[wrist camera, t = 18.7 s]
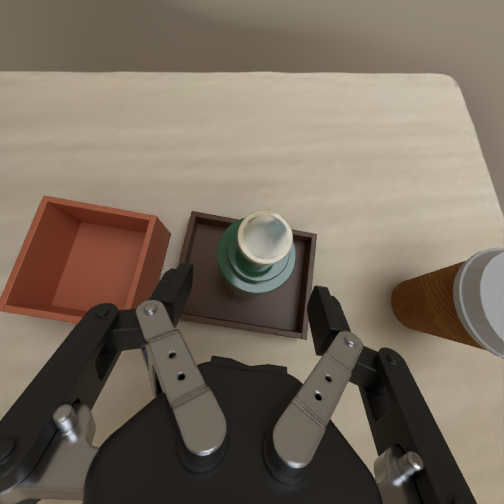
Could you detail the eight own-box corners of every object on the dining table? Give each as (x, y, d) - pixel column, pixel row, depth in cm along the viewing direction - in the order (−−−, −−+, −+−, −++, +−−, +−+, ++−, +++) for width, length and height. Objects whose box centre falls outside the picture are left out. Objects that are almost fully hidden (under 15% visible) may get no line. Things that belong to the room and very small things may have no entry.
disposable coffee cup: (372, 270, 31) (459, 248, 19) (438, 265, 32) (559, 241, 20) (388, 347, 28) (497, 375, 17) (458, 339, 29) (606, 360, 18)
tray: (172, 316, 27) (165, 317, 24) (195, 219, 30) (191, 210, 27) (299, 336, 28) (306, 339, 25) (309, 240, 31) (316, 233, 28)
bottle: (212, 277, 28) (189, 236, 12) (244, 244, 29) (262, 170, 13) (246, 309, 28) (269, 313, 12) (277, 275, 29) (337, 235, 13)
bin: (46, 309, 26) (-6, 310, 20) (80, 217, 29) (43, 195, 23) (147, 325, 27) (124, 330, 21) (171, 233, 29) (156, 215, 24)
